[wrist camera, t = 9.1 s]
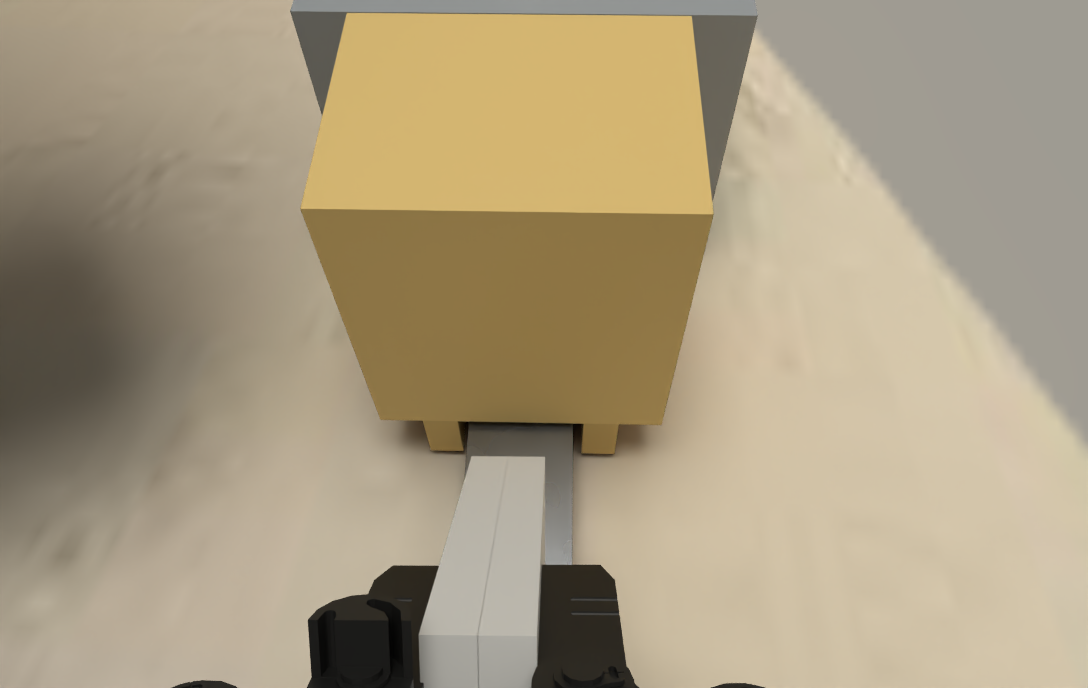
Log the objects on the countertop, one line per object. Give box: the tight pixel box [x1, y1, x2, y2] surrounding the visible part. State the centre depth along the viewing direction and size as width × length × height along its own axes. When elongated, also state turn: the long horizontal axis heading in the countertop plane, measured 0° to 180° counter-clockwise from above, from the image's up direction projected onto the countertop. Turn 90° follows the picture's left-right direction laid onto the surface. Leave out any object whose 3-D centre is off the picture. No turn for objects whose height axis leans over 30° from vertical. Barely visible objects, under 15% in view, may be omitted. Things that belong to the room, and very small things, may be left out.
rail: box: [464, 421, 573, 565], centre depth 22 cm, size 26×3×2 cm, turn 179°
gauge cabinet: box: [290, 0, 758, 202], centre depth 27 cm, size 8×12×11 cm, turn 89°
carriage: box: [300, 13, 714, 454], centre depth 22 cm, size 6×8×11 cm
